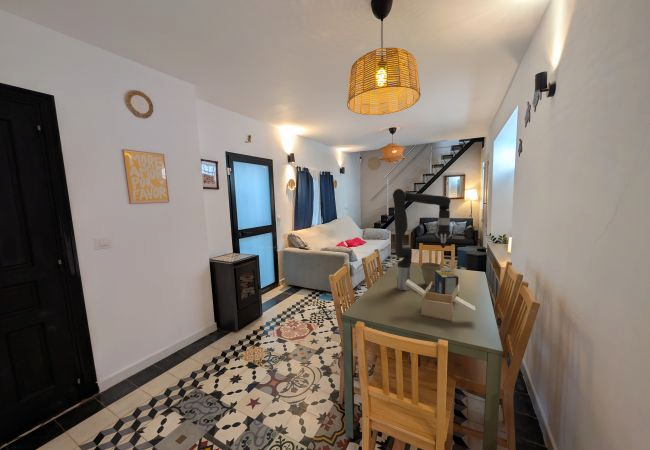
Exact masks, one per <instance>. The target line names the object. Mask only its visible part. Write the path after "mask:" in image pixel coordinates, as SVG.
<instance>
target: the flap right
mask: <svg viewBox="0 0 650 450" xmlns="http://www.w3.org/2000/svg"><path fill="white" fill-rule="evenodd" d="M459 293H460V283H458V285H457V287H456V288H455V290H454V291H453V293H452V302H453V303H455V304H458V305H460V306H462V307H463V308H465V309H466V310H469V311H471V313H472V312H473V313H475V312H476V306H475V305H474V304H471V303H469V302H468V301H466V300H464V299H462V298H461V297H459ZM457 295H458V297H457Z"/></svg>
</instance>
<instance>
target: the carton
mask: <svg viewBox="0 0 650 450" xmlns="http://www.w3.org/2000/svg"><path fill="white" fill-rule="evenodd" d="M453 304H454V301H453V302H452V295H445V294H439V293H436V292H431V291H428V292H427V294H426V295H425V296H424V298H423V297H422V298H421V316H425V317H428V318H434V319H435V318H436V319H440V320H445V321H450V322H452V321H453V313H454V312H453V309H454V308H453V307H454V305H453Z"/></svg>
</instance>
